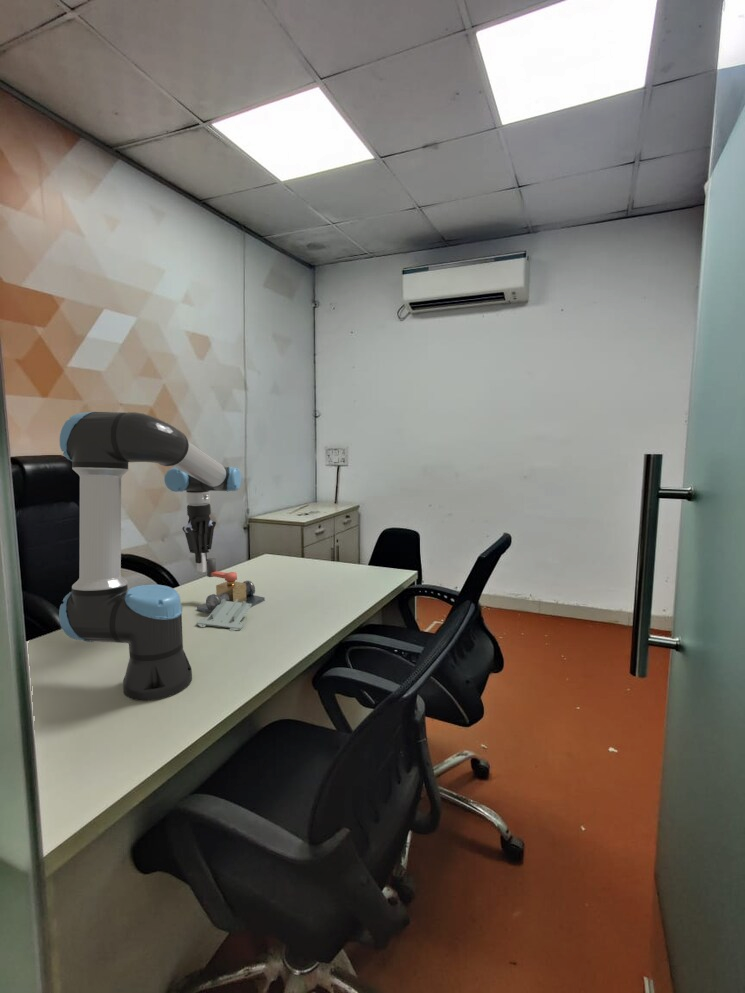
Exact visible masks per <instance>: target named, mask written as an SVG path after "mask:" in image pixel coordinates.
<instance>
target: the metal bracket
mask: <svg viewBox="0 0 745 993" xmlns="http://www.w3.org/2000/svg"><path fill="white" fill-rule="evenodd" d="M249 605H250V606H249ZM251 605H252V604H249V603H246V601H245V602H244V601H243V603H240V602H238V599H236V601H235V602H231V601H226V600H225V599H222V601H221V604H220V605H217V607H216V608H215V609H214V610H213V611H212V613H209V615H208V616H207V617H202V616H201V617H200V618H199V619H198V621H197V622H196V625H197V626H199V627H200V628H205V627H206V626H211V627H216V628H217V627H218V628H226V629H229V631H230V632H234V631H240V630H242V629H243V627H244V626H245V624H246V623H245V622H243V621H242V619H243V618H244V617H245V615H246V614H247V612H248V611H249V610H250V609H251V608H252V607H251ZM241 621H242V622H241Z"/></svg>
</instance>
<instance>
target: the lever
mask: <svg viewBox="0 0 745 993" xmlns="http://www.w3.org/2000/svg"><path fill="white" fill-rule="evenodd" d="M216 562H217V560H216V558H213V557H210V558H207V561H206V575H207V576H206V577H207V578H220V579H224V581H225V582H227V581H235V582H236V581H237V580H238V573H237V572H236V571H235V572H234V571H233V572H232V571H230V572H229V571H228V572H223V571H218V570H217V564H216Z"/></svg>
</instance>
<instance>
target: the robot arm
mask: <svg viewBox="0 0 745 993" xmlns="http://www.w3.org/2000/svg"><path fill="white" fill-rule="evenodd" d="M59 448H60V450H61V452H63V456H64V457H65V458H66V459H67V460H69V461H71V464H72V465H71V469H72V470H73V471H74V472H75V473H76V474H77V475H78V476H79V568H78V569H79V573H78V574H79V575H78V576H79V578H78V579H77V581H75V582H74V583H73V584H72V585H71V591H69V593H67V594H66V595H65V596H64V597H63V600H62V602H63V603H61V604H60V606H59V610H58V612H59V613H58V620H59V624H60V628H61V629H62V631H63V632H64V634H65V635H66V636H68V637H69V638H71V639H73V640H76V641H83V642H87V643H88V642H89V643H93V642H100V643H101V642H102V643H123V644H128V653H129V659H128V663H127V667H126V670H125V675H124V677H123V680H122V690H123V695H124V697H127V698H129V699H131V700H136V701H143V702H144V701H146V702H147V701H155V700H161V699H164V698H169V697H171V696H173V695H176V694H178V693H180V692H182V691H183V690H185V689H186V688H187V687H189V685H190V684H191V683H192V681H193V670H192V666H191V664H190V662H189V659H188V657H187V655H186V652H185V649H184V644H183V643H184V642H183V638H184V635H183V620H182V618H183V616H182V614H183V607H182V603H181V596H180V594H179V593H178V591H177V590H176V589H175V588H173V587H171V586H168V585H162V584H153V583H152V584H151V583H150V584H147V585H146V584H142V585H136V586H133V587H131V588H129V589H128V583H129V582H128V581H127V580H126V579H125V578H124V577H123V576H122V575H121V574H122V573H121V572H122V570H121V569H122V567H121V566H122V564H121V563H122V562H121V560H122V552H121V551H122V540H121V539H122V477H123V476H124V475H125V474H126V473H127V472H128V471H129V463H154V464H159V465H161V466H164V467H172V468H170V469H168V470H167V471H166V472H165V475H164V478H163V479H164V483H165V486H166V488H167V489H169V490H170V491H172V492H175V493H178V492H182V493H183V492H184V491H186V492H185V494H186V504H187V506H186V512H187V513H186V515H187V516H188V521H187V525H186V526H182V528H181V529H182V531H183V533H184V535H185V538H186V543H187V546H188V549H189V553H191V554H194V557H195V558H194V559H195V563H196V572H199V573H205V572H206V573H207V559H208V556H207V553H208V554H209V553H210V550H211V549H212V545H213V538H214V531H215V527H216V524H217V522H216V521H213V520H211V517H210V515H211V513H212V512H211V511H212V510H211V509H212V508H211V504H210V503H211V492H213V491H214V492H235V491H236V492H237V491H238V490H239V489H240V488H241V485H242V473H241V470H240V469H239V468H238V467H234V466H228V467H227V466H224V465H223V464H221V463H220V462H219V461H217V460H215V459H214V458H213V457H212V456H210V455H208V454H207V453H205V452H204V451H202V450H201V449H200V448H198V447H197V446H195V445H194V444H193V443H191V442H190V441H189V438H188V437H187V435H185V434H184V433H183V432H182V431H181V430H180V429H178V428H177V427H175V426H173V425H171V424H169V423H167V422H166V421H164V420H161V419H159V418H157V417H154V416H152V415H149V414H147V413H146V414H145V413H140V412H135V411H134V412H133V411H132V412H130V411H129V412H117V411H113V412H111V411H89V412H88V411H87V412H79V413H75V414H73V415H72V416H71V415H70V417H69V419H67V420H66V421H65V422H64V423H63V425H62V427H61V429H60V433H59Z"/></svg>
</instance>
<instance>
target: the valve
mask: <svg viewBox="0 0 745 993" xmlns="http://www.w3.org/2000/svg"><path fill="white" fill-rule="evenodd" d="M255 587H256V586H255V584H254V583H253V582H252V581H251V580H245V581H243V582H240V581H236V580H235V581H225V582H222V583H218V584H215V589H216V591H215V592H216V593H213V594H209V595H208V596H207V597H206V599H205V603H203V604H200V605H198V606H196V610H197V611H198V612H203V613H207V614H211V613H212V611H213V610H214V609H215V608H216V607H217V605H220V604H221V601H222V599H225V600H226V601H231V602H235V601H236V599H238V602H240V603H243V601H244V602H245V601H246V603H249V604H252V605H251V607H250V608H252V607H254V606H256V605H258V604H261V603H263V602H264V601H265V600H266V599H265V597H264V596H260V595H255V593H256V588H255ZM249 606H250V605H249Z"/></svg>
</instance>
